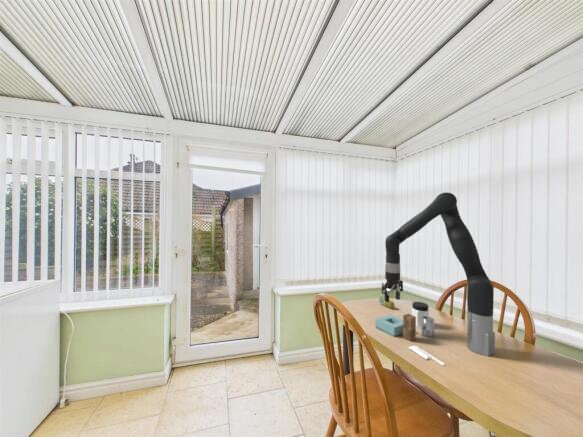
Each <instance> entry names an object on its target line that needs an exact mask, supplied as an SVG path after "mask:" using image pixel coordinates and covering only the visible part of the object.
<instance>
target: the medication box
mask: <svg viewBox="0 0 583 437" xmlns="http://www.w3.org/2000/svg"><path fill="white" fill-rule="evenodd" d="M378 299H379V303H380V304H381V305H383V306H386V307H388V308H390V309H395V302H394V301H392V300H390V299H389V302H386V301H385V297H382V296H380V297H379V298H378Z"/></svg>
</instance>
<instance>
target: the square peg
mask: <svg viewBox="0 0 583 437" xmlns="http://www.w3.org/2000/svg"><path fill="white" fill-rule="evenodd" d="M402 320H403V334H402V338H403V339H404V340H406V341H409V342H413V341H416V328H417V326H416V317H415V316H413V315H412V314H410V313H406V314H403V319H402Z"/></svg>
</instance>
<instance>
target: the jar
mask: <svg viewBox="0 0 583 437" xmlns="http://www.w3.org/2000/svg"><path fill="white" fill-rule="evenodd" d="M411 305H412V307H411V315H413V316H415V317H416V328H421V317H424V316H426V317H430V310H429V305H428V303H425V302H422V301H413V302H412V304H411Z"/></svg>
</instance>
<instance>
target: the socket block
mask: <svg viewBox="0 0 583 437" xmlns="http://www.w3.org/2000/svg"><path fill="white" fill-rule="evenodd" d="M375 328H376V329H377V330H379V331H381V332H383V333H386V334H387V335H389V336H392V337H394V338H395V337H398V336H403V319H401V318H399V317H396V316H394V315H391V314H388V315H385V316H382V317H381V316H380V317H378V318H375Z"/></svg>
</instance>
